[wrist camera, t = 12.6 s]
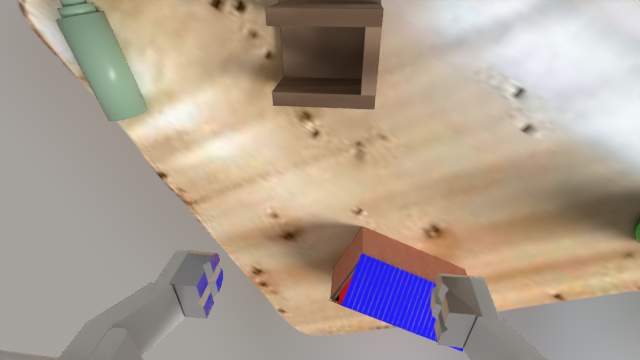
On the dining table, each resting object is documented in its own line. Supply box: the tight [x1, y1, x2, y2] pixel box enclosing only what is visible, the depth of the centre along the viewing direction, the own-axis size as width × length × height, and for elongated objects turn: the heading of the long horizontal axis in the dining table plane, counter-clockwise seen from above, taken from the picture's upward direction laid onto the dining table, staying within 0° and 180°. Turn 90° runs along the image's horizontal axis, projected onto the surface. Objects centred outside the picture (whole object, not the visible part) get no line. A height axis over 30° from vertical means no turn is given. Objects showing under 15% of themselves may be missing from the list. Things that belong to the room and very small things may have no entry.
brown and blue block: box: [330, 227, 467, 351], centre depth 52 cm, size 12×20×12 cm, turn 66°
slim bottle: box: [56, 0, 148, 121], centre depth 39 cm, size 5×5×20 cm
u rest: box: [265, 0, 383, 109], centre depth 36 cm, size 11×11×7 cm
